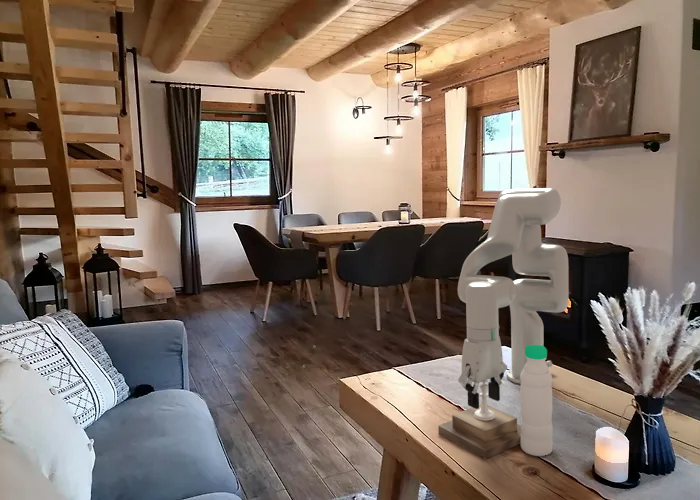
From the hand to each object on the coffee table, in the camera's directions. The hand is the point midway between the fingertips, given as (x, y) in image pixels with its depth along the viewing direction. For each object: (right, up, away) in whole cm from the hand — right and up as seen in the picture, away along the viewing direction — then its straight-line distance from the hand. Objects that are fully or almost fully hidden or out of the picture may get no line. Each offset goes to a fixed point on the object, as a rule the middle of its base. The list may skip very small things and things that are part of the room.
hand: (483, 402), depth 131 cm
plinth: (0, -9, +1) cm, 9 cm away
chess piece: (0, -4, +1) cm, 4 cm away
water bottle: (+11, -9, -7) cm, 16 cm away
